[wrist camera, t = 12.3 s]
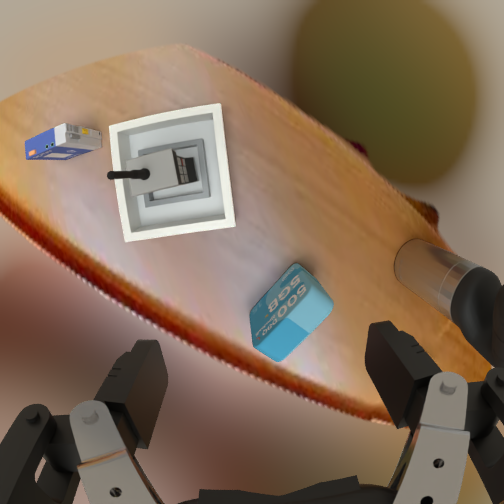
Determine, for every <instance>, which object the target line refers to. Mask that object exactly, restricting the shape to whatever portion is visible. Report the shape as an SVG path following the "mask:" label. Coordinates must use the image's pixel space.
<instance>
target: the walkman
mask: <svg viewBox="0 0 504 504" xmlns="http://www.w3.org/2000/svg"><path fill="white" fill-rule="evenodd" d="M101 140H102V135H101V132H100V131H96V130H93V129H89V128H85V127H81V126H75V125H71V124H67V123H63V124H61V125H59V126H56V127H54V128H52V129H50V130H48V131H45V132H43V133H41V134H39V135H37V136H35V137H33V138H31V139H29V140H27V141H25V151H26V160H67V159H70V158H72V157H75V156H78V155H81V154H84V153H87V152H90V151H93V150H95V149H98V148H101V147H102V144H101Z"/></svg>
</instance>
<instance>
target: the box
mask: <svg viewBox="0 0 504 504" xmlns="http://www.w3.org/2000/svg"><path fill="white" fill-rule="evenodd" d="M109 132H110V143H111V153H112V162H113V171H126V166H125V161H126V160H129V159H133V158H136V157H139V156H143V155H146V154H150V153H154V152H157V151H161V150H165V149H169V148H172V149H173V150H174V151H175V152H177V153H176V155H178V156H181V157H184V158H185V157H194V159H195V164H196V169H197V174H198V179H199V181H198V182H194V183H189V184H185V185H180V186H176V187H172V188H168V189H163V190H159V191H155V192H151V193H147V194H143V195H139V196H135V197H132V196H131V191H130V186H129V182H128V178H125V179H115V186H116V192H117V199H118V205H119V211H120V217H121V223H122V228H123V233H124V238H125V242H131V241H137V240H144V239H150V238H157V237H164V236H171V235H178V234H185V233H192V232H199V231H207V230H214V229H221V228H229V227H236V221H235V212H234V205H233V197H232V189H231V181H230V173H229V164H228V156H227V148H226V140H225V131H224V123H223V114H222V108H221V103H218V104H211V105H204V106H197V107H191V108H186V109H180V110H175V111H170V112H165V113H160V114H155V115H151V116H146V117H142V118H138V119H134V120H130V121H126V122H122V123H118V124H114V125H111V126H109Z"/></svg>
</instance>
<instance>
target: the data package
mask: <svg viewBox="0 0 504 504" xmlns="http://www.w3.org/2000/svg"><path fill="white" fill-rule="evenodd" d="M333 305H334V303H333V300H332V299H331V298H330V296H329V295H328V294H327V292H326V291H325V290H324V288H323V287H322V286H321V284H320V283H319V282H318V280H317V279H316V278H315V277H314V276H312V275H311V274H310V273H309V272H308V271H306V270H305V269H304V268H303V267H302V266H301V265H299V264H298V263H295V264H293V265H292V266H291V267H290V268H289V269H288V270H287V271H286V272H285V273H284V274H283V275H282V276H281V278H280V279H279V280H278V281H277V282H276V283H275V284H274V285H273V287H272V288H271V289H270V290H269V291H268V292H267V293H266V294H265V295H264V296H263V298H262V299H261V300H260V301H259V302H258V303H257V304H256V305H255V306H254V308H253V309H252V310H251V312H250V325H251V334H252V342H253V347H254V348H255V349H257V350H259V351H260V352H262V353H263V354H265V355H266V356H268V357H270V358H271V359H273V360H274V361H276V362H280V361H282V360H284V359H285V358H286V357H287V356H288V355H289V354H290V353H291V352H292V351H293V350H294V349H295V348H296V347H297V346H299V345H300V344H301V343H302V342H303V341H304V340H305V339H306V338H307V337H308V336H309V335H310V334H311V333H312V332H313V331H314V330H315V328H316V327H317V326H318V325H319V324H320V323H321V322H322V321H323V320H324V319H325V318H326V317H327V316H328V315H329V314H330V312H331V311H332V309H333Z"/></svg>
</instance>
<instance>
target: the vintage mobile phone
mask: <svg viewBox="0 0 504 504" xmlns="http://www.w3.org/2000/svg"><path fill="white" fill-rule="evenodd" d="M176 153H177V152H175V151H174V150H173V149H172V148H169V149H165V150H161V151H157V152H154V153H150V154H146V155H143V156H139V157H136V158H133V159H129V160H126V161H125V166H126V171H110V172H108V174H107V177H108V179H110V180H112V179H125V178H128V182H129V186H130V191H131V196H132V197H135V196H139V195H143V194H147V193H151V192H155V191H159V190H163V189H168V188H172V187H176V186H180V185H185V184H189V183H194V182H198V181H199V179H198V174H197V169H196V164H195V159H194V157H185V158H184V157H181V156H178V155H176Z"/></svg>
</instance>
